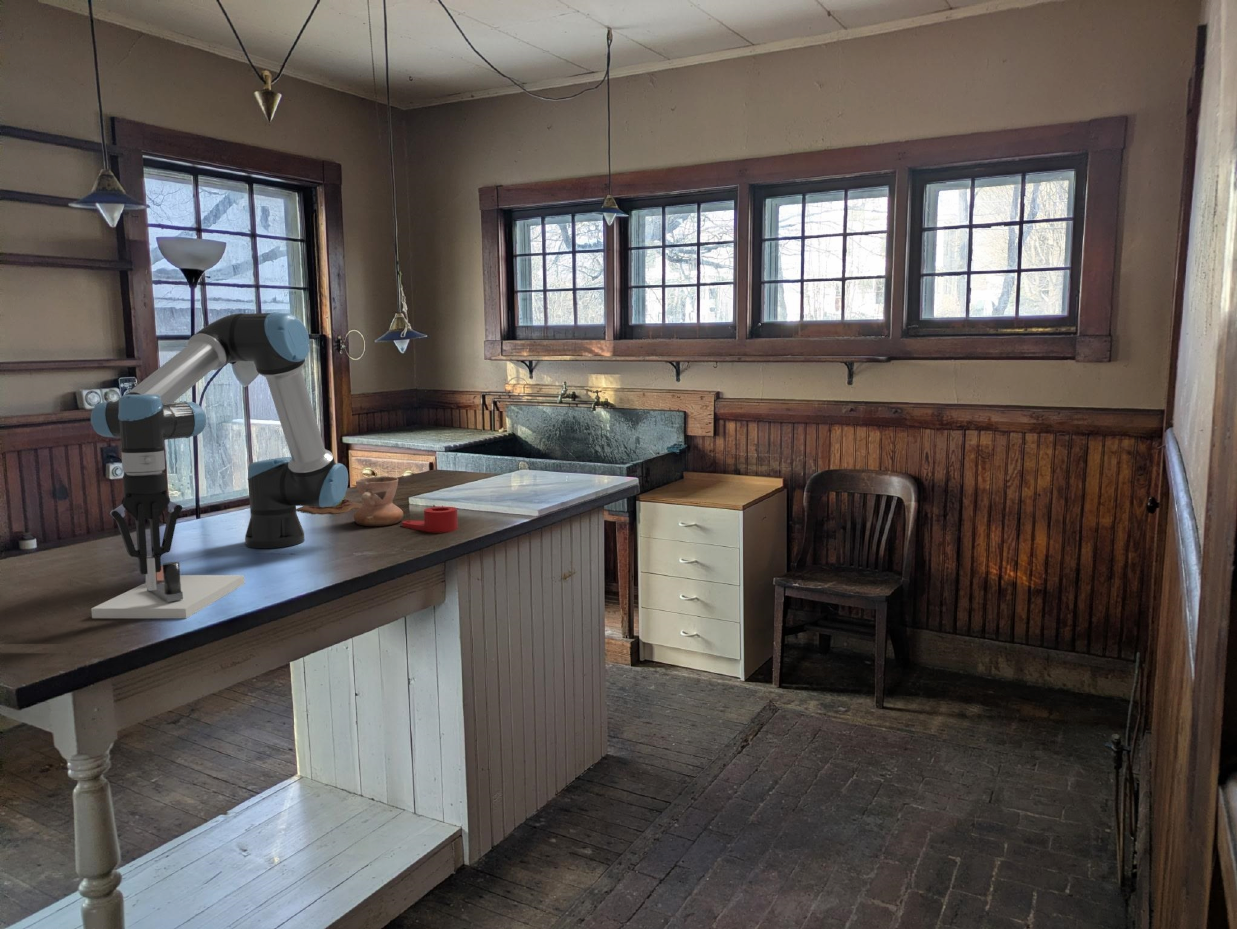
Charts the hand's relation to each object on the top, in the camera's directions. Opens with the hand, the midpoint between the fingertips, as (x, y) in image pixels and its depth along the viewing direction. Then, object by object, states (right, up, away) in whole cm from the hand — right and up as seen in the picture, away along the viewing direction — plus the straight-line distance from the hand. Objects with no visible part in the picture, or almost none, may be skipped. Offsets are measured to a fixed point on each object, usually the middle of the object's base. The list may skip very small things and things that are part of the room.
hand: (151, 588), depth 178 cm
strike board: (-1, -4, +10) cm, 11 cm away
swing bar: (-1, -2, +6) cm, 7 cm away
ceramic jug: (+22, +6, +89) cm, 92 cm away
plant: (0, +9, +111) cm, 111 cm away
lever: (+38, +5, +81) cm, 90 cm away
